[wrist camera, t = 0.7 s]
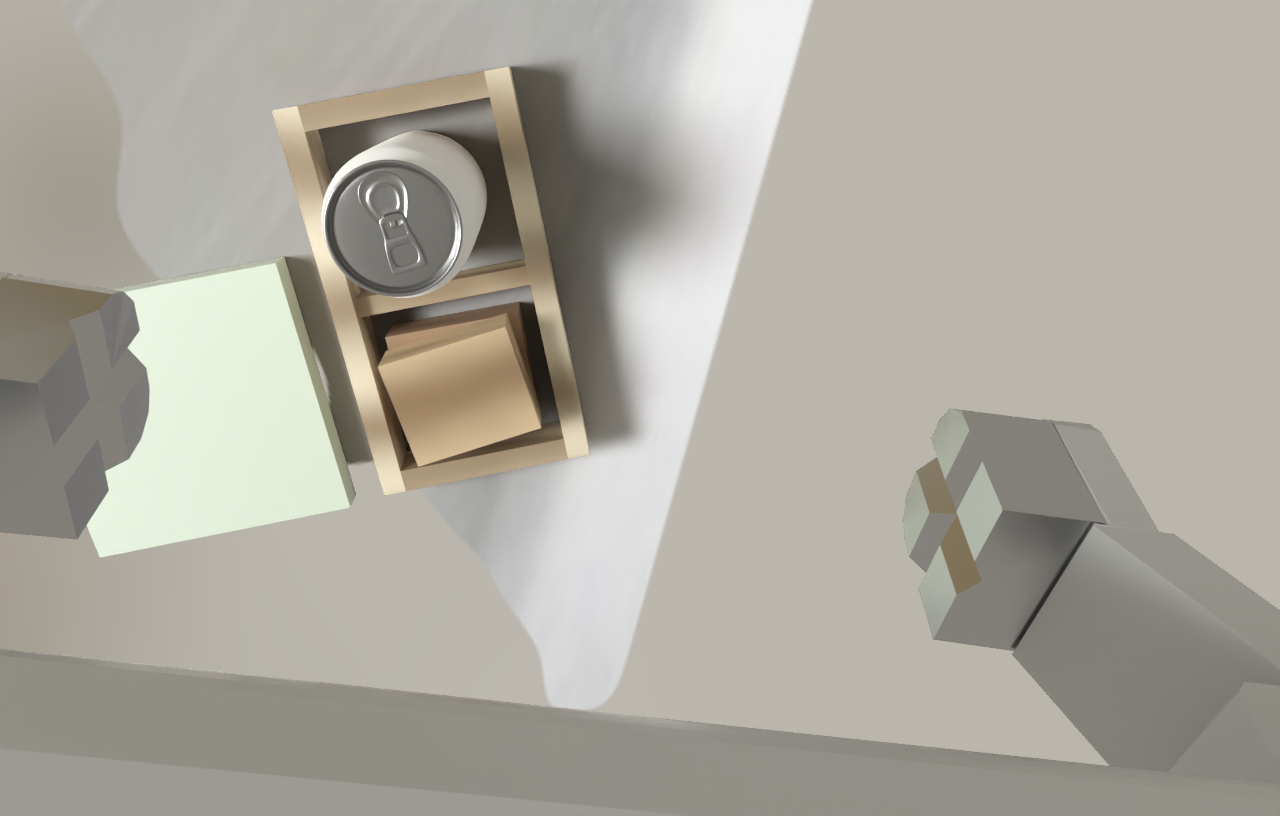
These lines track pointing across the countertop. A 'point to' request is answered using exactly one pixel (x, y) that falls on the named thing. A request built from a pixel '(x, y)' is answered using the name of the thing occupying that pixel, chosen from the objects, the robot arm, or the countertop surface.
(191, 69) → the countertop surface
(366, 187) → the can
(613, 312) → the countertop surface
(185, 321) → the board
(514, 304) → the offcut lower
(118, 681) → the robot arm
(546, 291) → the rack
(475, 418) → the offcut upper
